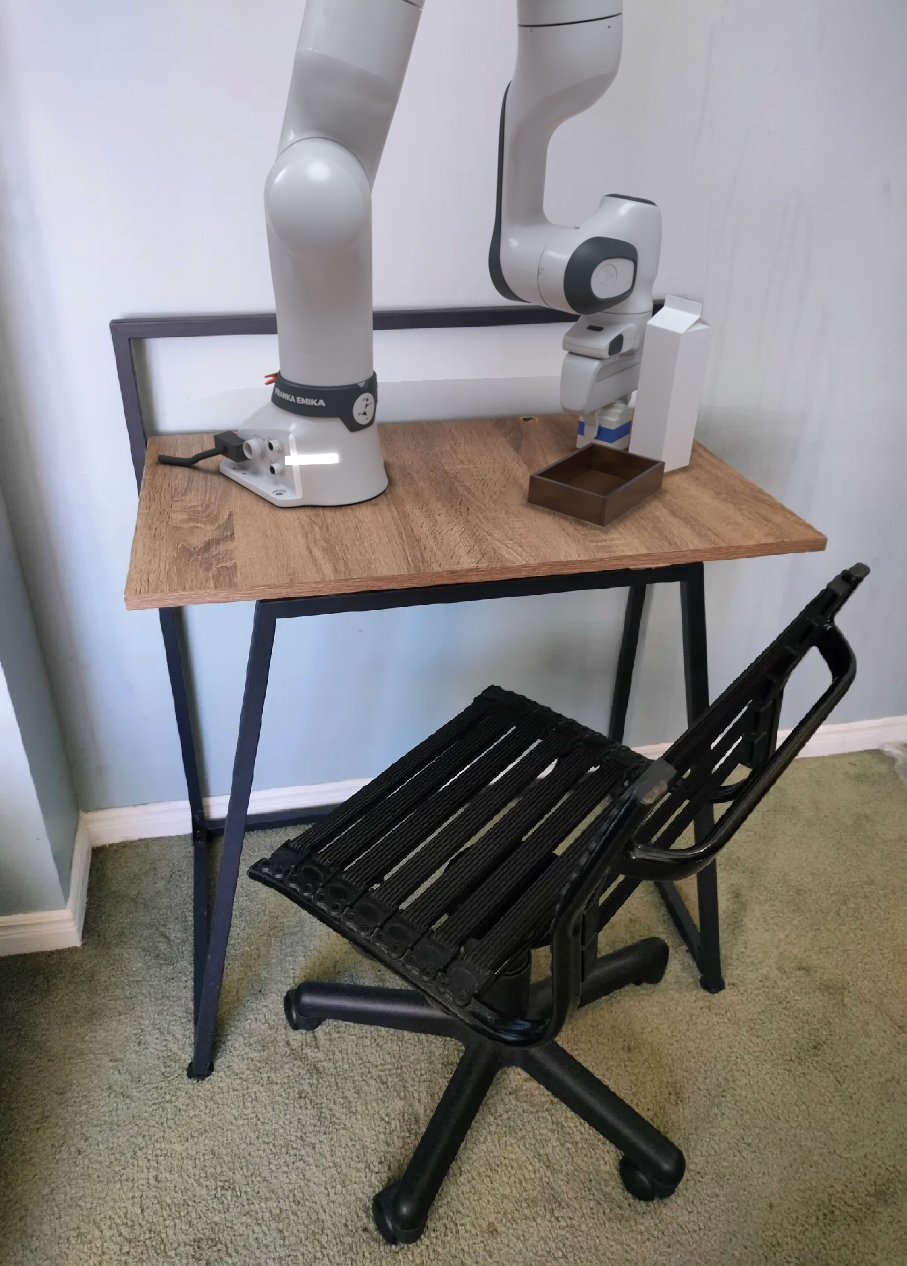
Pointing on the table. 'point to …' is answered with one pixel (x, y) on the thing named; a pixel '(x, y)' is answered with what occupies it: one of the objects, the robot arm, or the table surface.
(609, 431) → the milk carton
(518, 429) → the table surface
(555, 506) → the box
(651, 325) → the milk
